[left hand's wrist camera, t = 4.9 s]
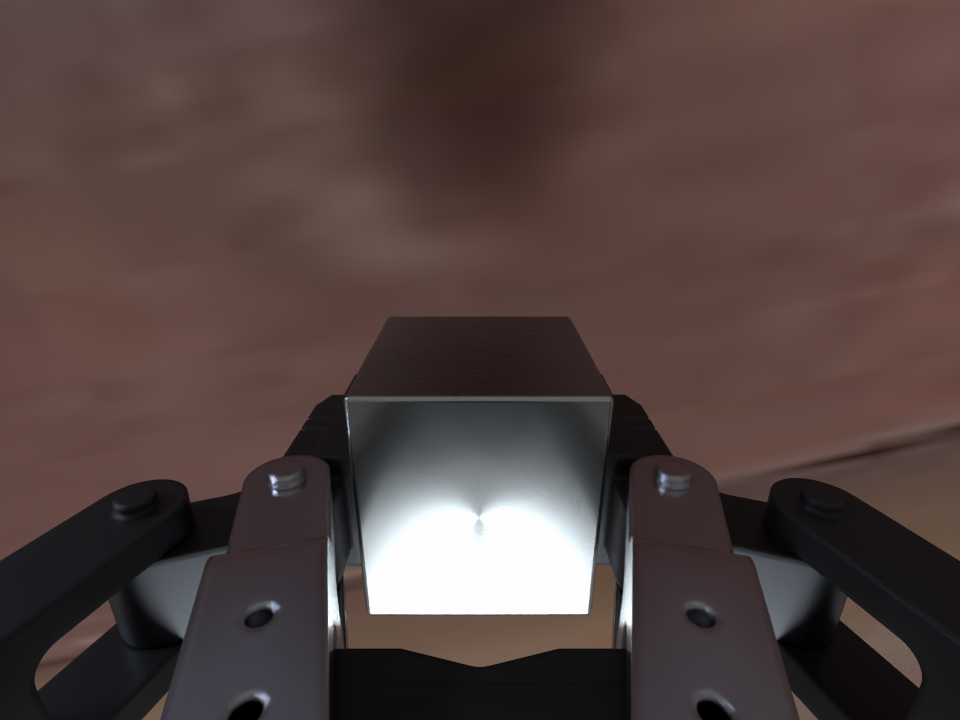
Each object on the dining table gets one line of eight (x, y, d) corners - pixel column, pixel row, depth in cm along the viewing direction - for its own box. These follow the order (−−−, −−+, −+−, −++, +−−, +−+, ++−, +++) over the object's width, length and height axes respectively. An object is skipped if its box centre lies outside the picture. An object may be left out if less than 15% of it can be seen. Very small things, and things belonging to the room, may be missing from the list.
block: (398, 481, 13) (365, 617, 9) (387, 315, 12) (341, 397, 8) (559, 481, 13) (592, 616, 9) (570, 315, 12) (616, 396, 8)
